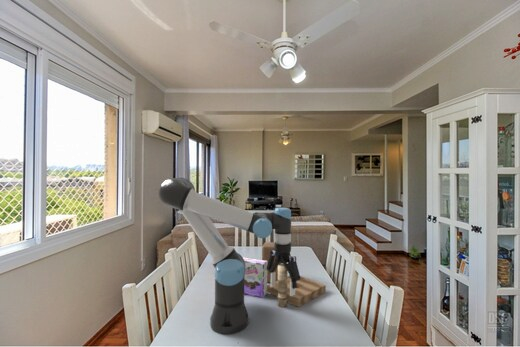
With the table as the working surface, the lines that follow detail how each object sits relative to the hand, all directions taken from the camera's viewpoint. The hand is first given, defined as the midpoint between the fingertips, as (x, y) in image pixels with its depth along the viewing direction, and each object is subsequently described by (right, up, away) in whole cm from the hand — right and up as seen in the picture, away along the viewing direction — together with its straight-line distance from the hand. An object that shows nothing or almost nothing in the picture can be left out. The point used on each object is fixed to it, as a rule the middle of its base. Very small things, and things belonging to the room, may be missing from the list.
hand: (282, 290), depth 118 cm
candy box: (-14, -7, +12) cm, 19 cm away
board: (+8, -7, +13) cm, 17 cm away
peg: (0, -7, 0) cm, 7 cm away
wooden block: (-4, -7, +28) cm, 29 cm away
